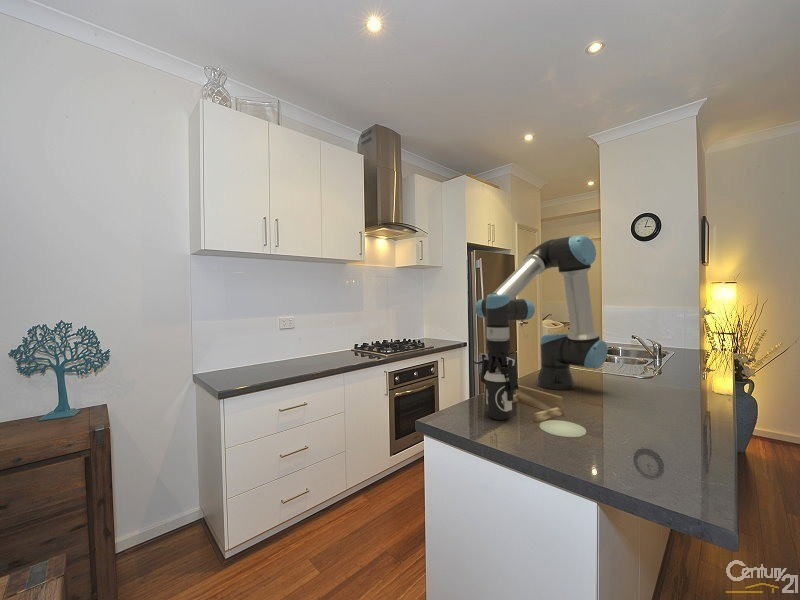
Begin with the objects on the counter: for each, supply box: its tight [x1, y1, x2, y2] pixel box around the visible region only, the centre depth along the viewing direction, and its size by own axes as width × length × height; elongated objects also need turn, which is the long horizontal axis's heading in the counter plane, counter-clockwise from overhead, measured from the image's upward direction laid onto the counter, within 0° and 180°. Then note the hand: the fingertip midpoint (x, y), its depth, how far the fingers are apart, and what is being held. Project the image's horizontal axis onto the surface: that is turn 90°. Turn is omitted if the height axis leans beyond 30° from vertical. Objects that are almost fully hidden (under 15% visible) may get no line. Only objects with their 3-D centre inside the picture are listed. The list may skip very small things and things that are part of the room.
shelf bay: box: [512, 384, 564, 423], centre depth 124 cm, size 14×19×6 cm
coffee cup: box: [484, 369, 511, 421], centre depth 117 cm, size 10×10×15 cm
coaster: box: [539, 419, 587, 438], centre depth 107 cm, size 13×13×1 cm
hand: (498, 406), depth 117 cm, fingers open, 7 cm apart
